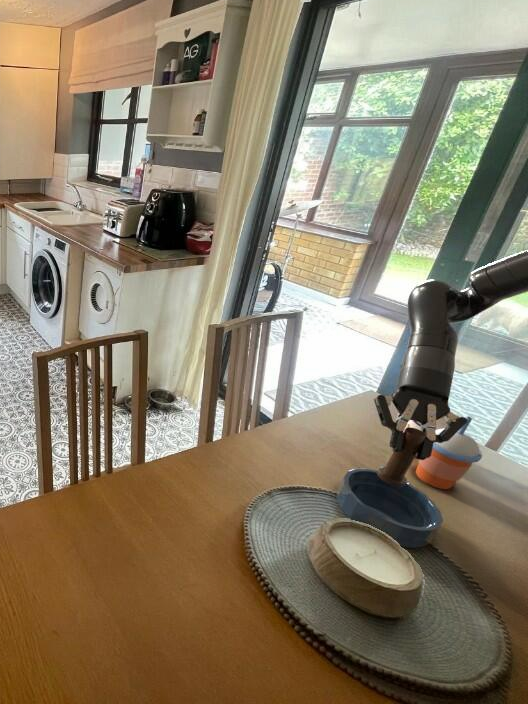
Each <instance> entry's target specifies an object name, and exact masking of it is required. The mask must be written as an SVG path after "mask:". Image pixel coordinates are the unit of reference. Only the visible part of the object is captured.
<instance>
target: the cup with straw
mask: <svg viewBox="0 0 528 704" xmlns="http://www.w3.org/2000/svg"><path fill="white" fill-rule="evenodd" d="M465 418H466V419H467V423H466V424H465V425H464V426H463V427H462V428H461V429H460V430H459V431H458V432H457V433H456V434H455V435H454V436H453V437H452V438H451V439H450V440H449V441H446V442H443V443H438V442H434V443H433V448H432V453H431V456H430V457H429V458H426V459H425V460H419V459H418V465H417V467H416V470H415V475H416V476H417V477H418V478H419V479H420V480H421V481H422V482H423V483H426V484H427V485H429V486H431V487H434V488H435V489H441V490H450V489H451V488H452V487H454V485H455V484H456V482H457V481H459V480H460V479H462V477H463V476H465V474H466V473H467V472H468V470H470V468H471V467H472V465H473V463H478V462H480V461H481V460H482V458H483V453H482V451H481V450H480V447H479V445H478V442H477V441H476V440H475V439H474V438H473V437H472V436H471V435H469V434H468V433H466V431H467V429H468V427H469V425H470V423H471V422H472V420H473V418H472V417H471V416H466V417H465ZM444 429H445V428H444ZM444 429H439V430H436V435H439V434H440V433H441V432H442V431H443V430H444Z"/></svg>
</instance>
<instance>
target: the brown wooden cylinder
mask: <svg viewBox="0 0 528 704" xmlns="http://www.w3.org/2000/svg"><path fill="white" fill-rule="evenodd" d="M404 433H405V434H404V439H403V443H402V448H401V451H400V452H395V451H392V454H391V456H390V458H389V459H388V461H387V463H386V465H385V466H381V467H379V468H378V470H377V471H378V472H377V474H378V476H379V478H380V479H382V480H383V481H384V482H386V483H388V484H390V485H393V486H397V487H403V486H404V485H405V484H406V482H407V483H408V478H407V477H406V476H405V475H406V474H407V472H408V470H409V468H410V466H411V465H412V463H413V461H414V460H415V458H416V457H417V456H416V454H417V453H418V451H419V449H420V447H421V445H422V444H423V442H424V440H425V438H426V434H425V433H424V432H422V431H420V430H418V429H416V428H411V427H408V428H406V429H405V431H404Z"/></svg>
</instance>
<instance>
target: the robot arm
mask: <svg viewBox="0 0 528 704" xmlns="http://www.w3.org/2000/svg"><path fill="white" fill-rule="evenodd" d="M468 283H469V285H470V287H467V288H466V289H463V290H459V289H458V288H456V287H454V286H453V285H451V284H450V283H448V282H445V281H443V280H439V279H428V280H424V281H422V282H420V283H419V284H417V285H416V286H415V287H414V288H413V289H412V290H411V292H410V293H409V295H408V298H407V317H408V324H409V329H410V334H409V337H408V342H407V346H406V350H405V353H404V354H403V358H402V361H401V363H400V367H399V369H400V370H399V373H398V379H397V383H396V388H395V391H394V393H392V395H385V394H378V395H377V396H375V397H374V398H373V401H374V405H375V409H376V412H377V414H378V418H379V421H380V424H381V425H382V426H383V427H385V428H388V429H389V430H390V431H391V434H390V439H389V447H390V448H392V452H394V451H395V452H400V451H401V448H402V443H403V439H404V434H405V433H403V431H404V429H405V427H406V425H407V423H408V422H409V420H415V421H417V422H419V423H420V428H421V430H422V432H424V433H425V434H426V438H425V440H424V442H423V444H422V445H421V447H420V449H419V451H418V453H417V456H416V460H418V461H419V460H425V459H426V458H429V457H430V456H431V453H432V448H433V443H434V442H438V443H443V442H446V441H449V440H450V439H451V438H452V437H453V436H454V435H455V434H456V433H457V432H458V431H459V430H460V429H461V428H462V427H463V426H464V425H465V424H466V423H467V419H466V417H465V416H458V415H457V414H455V413H454V412H452V411H451V408H450V406H449V399H450V394H451V390H452V385H453V380H454V379H453V378H454V373H455V368H456V353H457V349H458V342H459V334H458V331H457V330H456V329H455V328H454V326H453V325H451V324H458V323H463V322H465V321H468V320H470V319H472V318H474V317H476V316H478V315H480V314H481V313H483V312H484V311H486V310H488V309H490V308H492V307H493V306H496V304H497V305H498V303H500V302H501V301H504V300H507V299H509V298H513V297H516V296H518V295H522V294H525V293H528V249H525V250H523V251H519V252H517V253H514V254H512V255H509V256H507V257H504V258H501V259H500V260H499V259H498V260H497V261H494V262H492V263H488V264H487V265H485V266H482V267H479V268H477V269H475V270H473V271H472V272H470V274H469V276H468ZM392 404H393V406H394V407H395V409H396V411H397V412H398V414H397V416H396V418H395V421H394V420H393V416H392V414H391V410H390V406H391V405H392ZM444 416H445V417H446V418H447V420H446V423H447V424H448V426H447V427H446V428H445V429H444V430H443V431H442V432H441V433H440V434H439V435H436V427H437V425H436V420H438V419H440V418H442V417H444Z"/></svg>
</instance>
